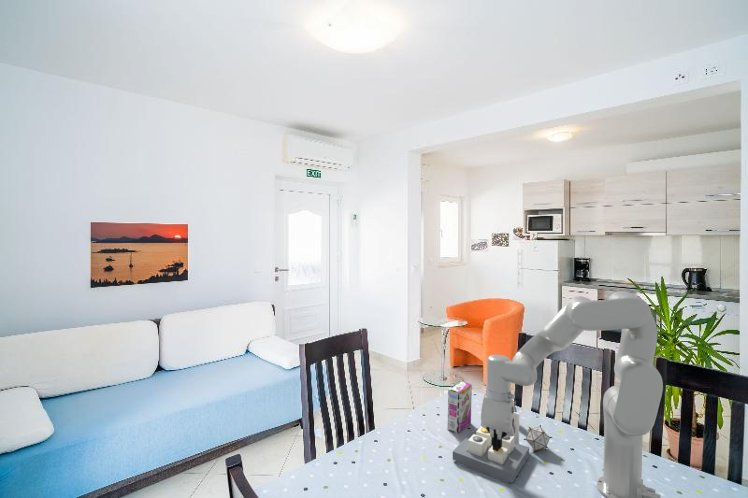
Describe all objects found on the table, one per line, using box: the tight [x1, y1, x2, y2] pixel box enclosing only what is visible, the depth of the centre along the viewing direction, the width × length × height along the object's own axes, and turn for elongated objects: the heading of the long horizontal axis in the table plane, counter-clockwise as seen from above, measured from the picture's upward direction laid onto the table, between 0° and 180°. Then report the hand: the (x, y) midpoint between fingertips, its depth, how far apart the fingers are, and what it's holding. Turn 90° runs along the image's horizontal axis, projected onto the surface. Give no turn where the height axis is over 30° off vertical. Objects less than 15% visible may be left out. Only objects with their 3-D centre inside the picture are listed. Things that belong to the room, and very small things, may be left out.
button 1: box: [476, 425, 492, 448], centre depth 135 cm, size 5×5×5 cm
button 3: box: [488, 445, 508, 465], centre depth 126 cm, size 5×5×5 cm
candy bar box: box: [447, 381, 473, 434], centre depth 152 cm, size 11×5×16 cm, turn 139°
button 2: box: [468, 434, 487, 457], centre depth 130 cm, size 5×5×5 cm
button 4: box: [502, 436, 514, 455], centre depth 131 cm, size 5×5×5 cm
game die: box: [522, 424, 553, 454], centre depth 136 cm, size 9×8×10 cm
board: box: [452, 429, 530, 484], centre depth 131 cm, size 20×18×4 cm
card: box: [496, 412, 520, 444], centre depth 142 cm, size 10×3×12 cm, turn 53°
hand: (496, 448), depth 126 cm, fingers closed
